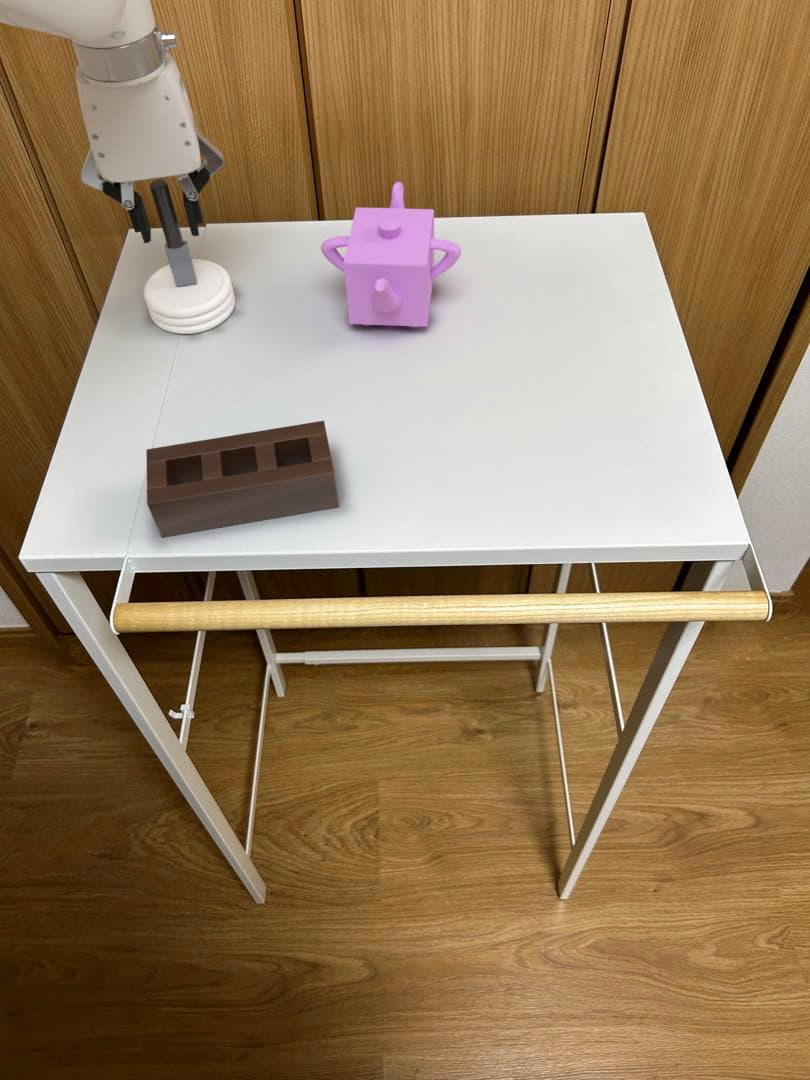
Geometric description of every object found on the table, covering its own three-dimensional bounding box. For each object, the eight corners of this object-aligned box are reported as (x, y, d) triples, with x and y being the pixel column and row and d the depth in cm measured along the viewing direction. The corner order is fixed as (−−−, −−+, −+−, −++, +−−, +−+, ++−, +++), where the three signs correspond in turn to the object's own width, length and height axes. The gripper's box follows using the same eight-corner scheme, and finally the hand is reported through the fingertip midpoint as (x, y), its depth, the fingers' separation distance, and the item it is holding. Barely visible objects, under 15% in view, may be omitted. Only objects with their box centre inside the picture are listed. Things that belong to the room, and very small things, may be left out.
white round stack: (228, 275, 101) (223, 250, 98) (242, 325, 96) (236, 300, 93) (146, 291, 100) (138, 266, 97) (155, 344, 94) (146, 319, 91)
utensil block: (339, 507, 79) (334, 472, 75) (161, 537, 78) (146, 504, 74) (329, 455, 83) (323, 420, 79) (160, 483, 82) (146, 449, 78)
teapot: (479, 316, 95) (483, 231, 86) (383, 365, 91) (377, 281, 82) (402, 253, 103) (399, 170, 94) (310, 295, 98) (298, 212, 90)
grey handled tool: (197, 286, 94) (170, 187, 85) (176, 289, 94) (146, 190, 85) (196, 276, 96) (170, 178, 86) (175, 279, 95) (146, 181, 86)
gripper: (211, 23, 78) (246, 202, 93) (27, 45, 76) (93, 223, 91) (215, 59, 74) (252, 241, 88) (20, 83, 72) (91, 264, 87)
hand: (171, 230), depth 89 cm, fingers open, 4 cm apart
